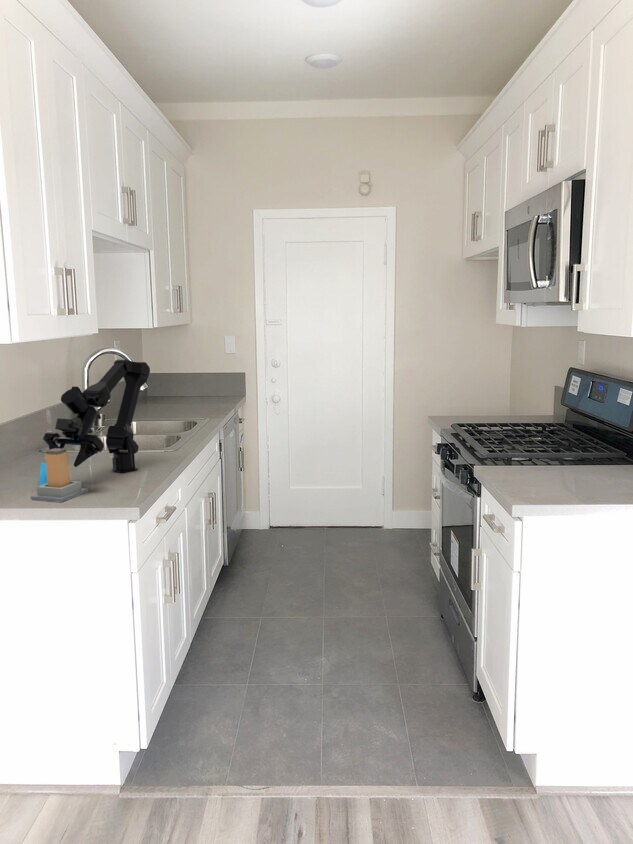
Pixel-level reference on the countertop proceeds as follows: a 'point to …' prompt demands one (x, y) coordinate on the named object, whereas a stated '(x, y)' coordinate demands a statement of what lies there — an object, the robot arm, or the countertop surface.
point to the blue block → (43, 474)
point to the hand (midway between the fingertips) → (62, 465)
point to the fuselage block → (57, 467)
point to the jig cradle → (59, 492)
